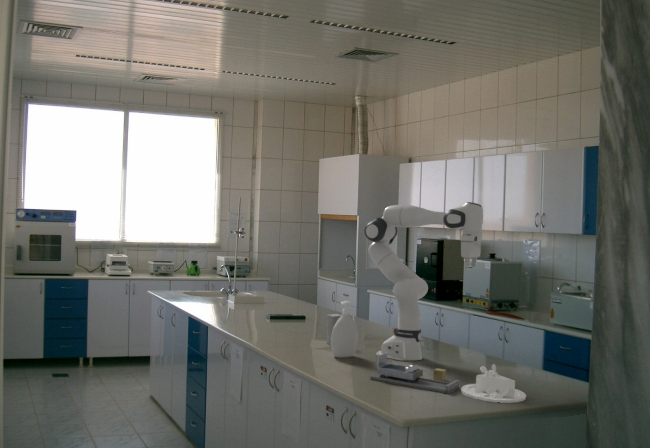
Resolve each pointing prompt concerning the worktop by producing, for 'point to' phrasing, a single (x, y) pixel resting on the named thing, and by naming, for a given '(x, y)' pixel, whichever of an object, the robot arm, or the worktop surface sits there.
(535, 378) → the worktop surface
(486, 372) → the dish
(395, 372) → the long grey tray
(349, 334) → the soap bottle
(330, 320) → the skincare box
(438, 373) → the wooden block
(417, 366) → the steel puck
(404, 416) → the worktop surface
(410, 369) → the steel puck
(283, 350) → the worktop surface
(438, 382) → the track
